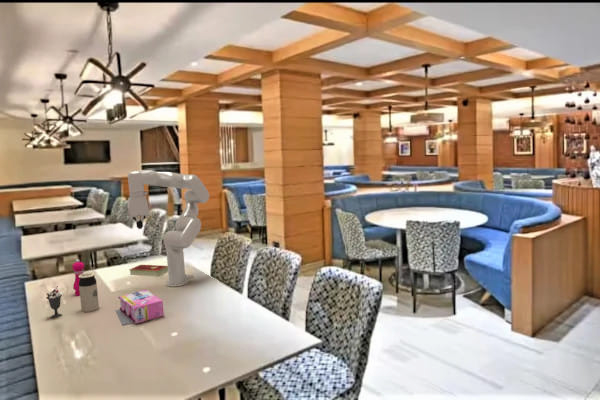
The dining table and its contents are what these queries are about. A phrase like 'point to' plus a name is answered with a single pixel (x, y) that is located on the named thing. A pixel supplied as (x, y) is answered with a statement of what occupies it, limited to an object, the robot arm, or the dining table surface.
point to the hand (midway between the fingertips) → (140, 228)
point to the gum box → (141, 306)
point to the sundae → (54, 302)
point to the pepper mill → (77, 275)
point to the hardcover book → (148, 270)
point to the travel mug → (88, 292)
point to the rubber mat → (123, 318)
